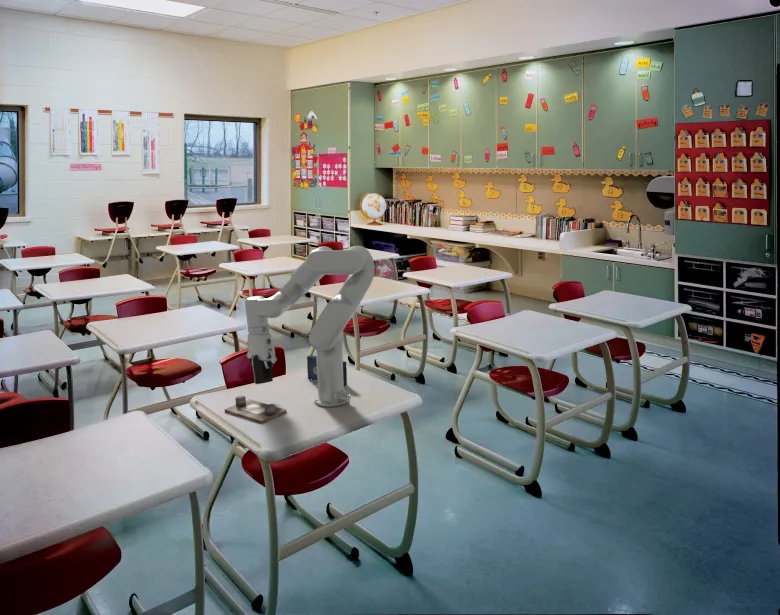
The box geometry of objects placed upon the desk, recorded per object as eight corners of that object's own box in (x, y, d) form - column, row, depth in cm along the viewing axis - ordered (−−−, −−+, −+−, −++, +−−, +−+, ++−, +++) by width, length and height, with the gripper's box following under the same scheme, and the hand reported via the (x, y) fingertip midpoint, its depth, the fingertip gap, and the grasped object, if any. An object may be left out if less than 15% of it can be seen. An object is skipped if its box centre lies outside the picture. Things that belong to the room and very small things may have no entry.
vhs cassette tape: (347, 385, 255) (346, 361, 253) (343, 387, 253) (342, 363, 250) (312, 377, 265) (311, 354, 263) (307, 379, 262) (306, 356, 260)
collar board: (286, 412, 229) (285, 401, 228) (261, 423, 219) (261, 412, 218) (249, 401, 239) (249, 391, 238) (224, 412, 230) (223, 401, 229)
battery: (271, 378, 244) (268, 350, 242) (273, 381, 241) (270, 352, 238) (253, 382, 241) (249, 353, 239) (255, 385, 238) (252, 355, 235)
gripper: (282, 329, 234) (287, 376, 238) (250, 325, 244) (255, 370, 248) (267, 334, 228) (272, 382, 232) (235, 329, 238) (240, 376, 242)
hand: (263, 375), depth 240 cm, fingers closed on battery, 5 cm apart
